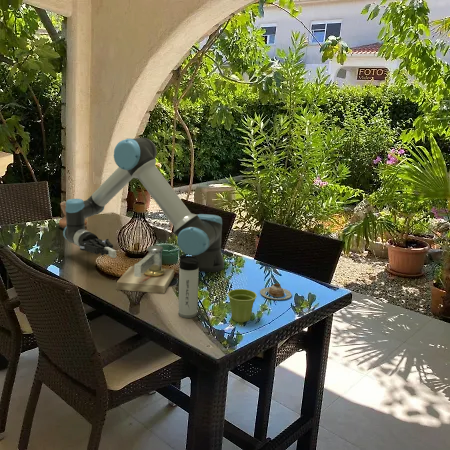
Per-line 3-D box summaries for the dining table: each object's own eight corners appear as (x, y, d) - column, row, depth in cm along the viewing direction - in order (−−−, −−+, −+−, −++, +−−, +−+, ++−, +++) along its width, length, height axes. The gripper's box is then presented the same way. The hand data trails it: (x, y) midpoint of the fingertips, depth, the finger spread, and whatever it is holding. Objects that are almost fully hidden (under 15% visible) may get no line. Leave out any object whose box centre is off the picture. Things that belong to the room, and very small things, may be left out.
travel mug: (186, 308, 159) (188, 253, 154) (200, 314, 155) (202, 257, 150) (173, 314, 155) (174, 257, 150) (188, 320, 151) (189, 262, 146)
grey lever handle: (148, 268, 186) (148, 244, 184) (167, 270, 185) (167, 246, 182) (127, 287, 166) (126, 261, 164) (148, 289, 165) (148, 263, 162)
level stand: (173, 276, 188) (174, 268, 188) (164, 293, 171) (164, 285, 170) (130, 273, 190) (130, 265, 189) (116, 289, 172) (116, 281, 172)
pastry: (266, 303, 168) (267, 291, 167) (255, 290, 179) (256, 279, 178) (296, 300, 171) (297, 289, 170) (283, 288, 182) (284, 277, 181)
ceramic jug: (52, 227, 250) (50, 202, 247) (74, 223, 262) (73, 198, 258) (73, 234, 241) (72, 207, 237) (95, 228, 252) (94, 203, 249)
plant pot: (252, 326, 148) (254, 301, 146) (224, 323, 150) (225, 298, 148) (256, 314, 157) (258, 290, 155) (229, 311, 159) (230, 287, 157)
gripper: (100, 246, 200) (129, 260, 183) (71, 251, 191) (99, 266, 175) (100, 229, 198) (129, 242, 182) (71, 234, 190) (98, 248, 173)
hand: (114, 254), depth 178 cm, fingers closed
